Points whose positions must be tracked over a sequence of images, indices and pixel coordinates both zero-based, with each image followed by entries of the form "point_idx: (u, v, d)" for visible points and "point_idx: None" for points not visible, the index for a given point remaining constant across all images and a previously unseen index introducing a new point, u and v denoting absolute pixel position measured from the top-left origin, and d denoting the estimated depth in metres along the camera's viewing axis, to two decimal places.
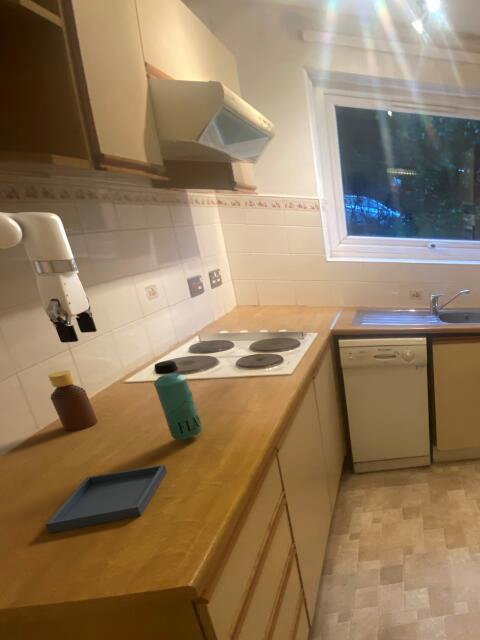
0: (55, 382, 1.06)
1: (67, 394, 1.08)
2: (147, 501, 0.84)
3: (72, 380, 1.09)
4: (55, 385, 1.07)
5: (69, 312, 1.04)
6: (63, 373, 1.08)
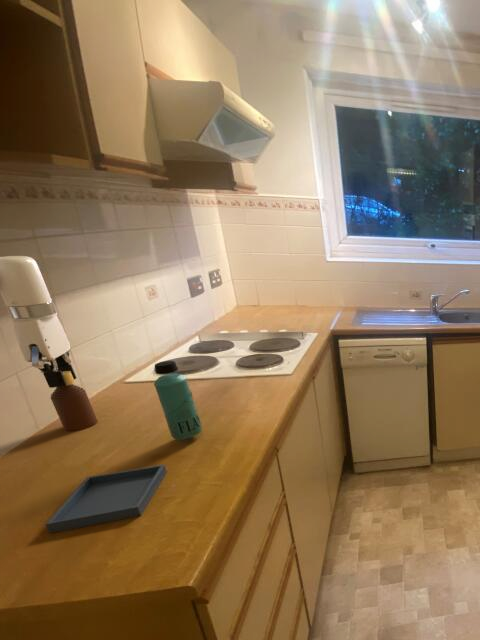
0: None
1: (67, 394, 1.08)
2: (147, 501, 0.84)
3: (72, 380, 1.09)
4: None
5: (48, 356, 1.02)
6: (63, 373, 1.08)
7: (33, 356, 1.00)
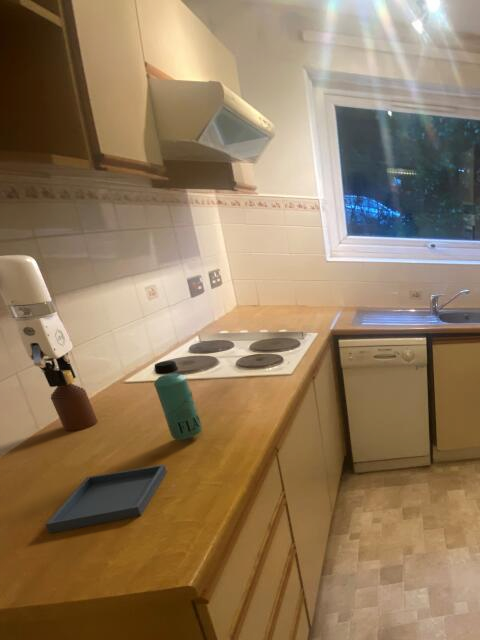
0: None
1: (67, 394, 1.08)
2: (147, 501, 0.84)
3: None
4: None
5: None
6: None
7: None
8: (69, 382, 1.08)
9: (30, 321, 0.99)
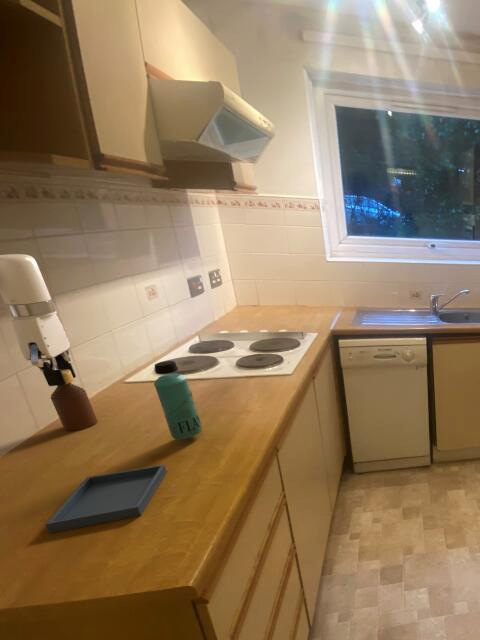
0: None
1: (67, 394, 1.08)
2: (147, 501, 0.84)
3: (72, 378, 1.09)
4: None
5: (48, 355, 1.02)
6: (63, 371, 1.07)
7: (32, 354, 1.00)
8: None
9: None
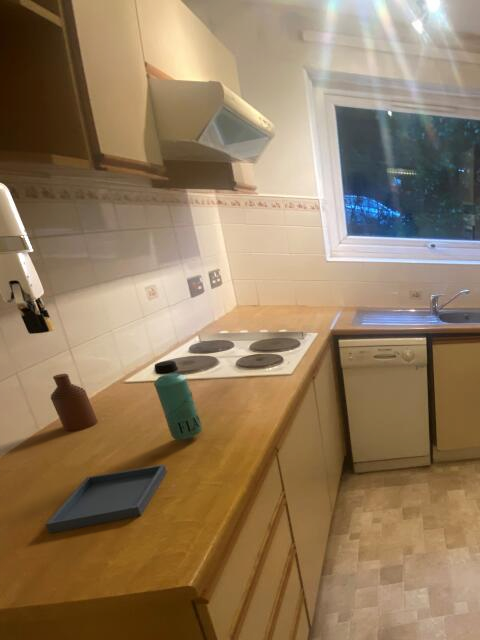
0: None
1: (67, 394, 1.08)
2: (147, 501, 0.84)
3: (53, 326, 0.98)
4: None
5: (32, 295, 0.92)
6: None
7: (16, 294, 0.90)
8: None
9: None
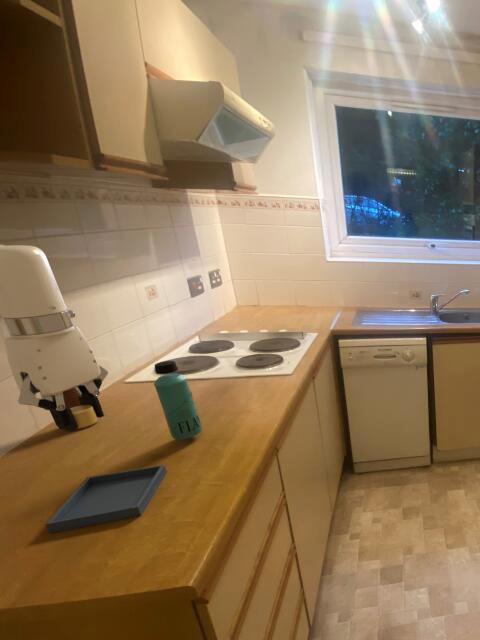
0: None
1: (67, 394, 1.08)
2: (147, 501, 0.84)
3: (90, 420, 0.78)
4: None
5: (43, 391, 0.71)
6: (80, 410, 0.77)
7: (22, 389, 0.70)
8: None
9: None
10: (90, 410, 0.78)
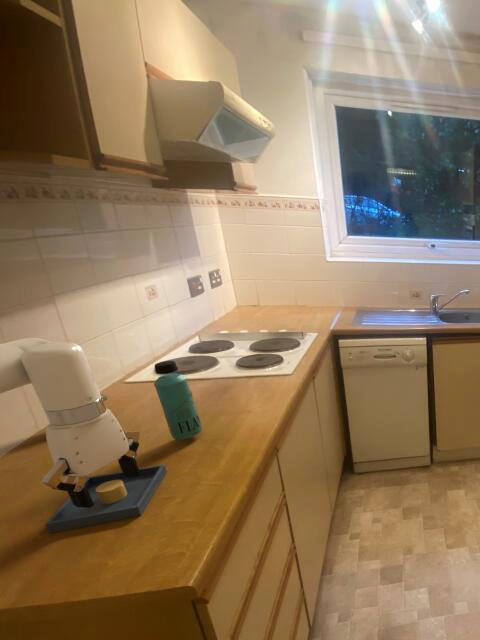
0: (100, 498, 0.83)
1: None
2: (147, 501, 0.84)
3: (121, 495, 0.84)
4: (101, 501, 0.83)
5: (80, 474, 0.77)
6: (112, 486, 0.83)
7: (52, 469, 0.74)
8: None
9: None
10: (121, 486, 0.84)
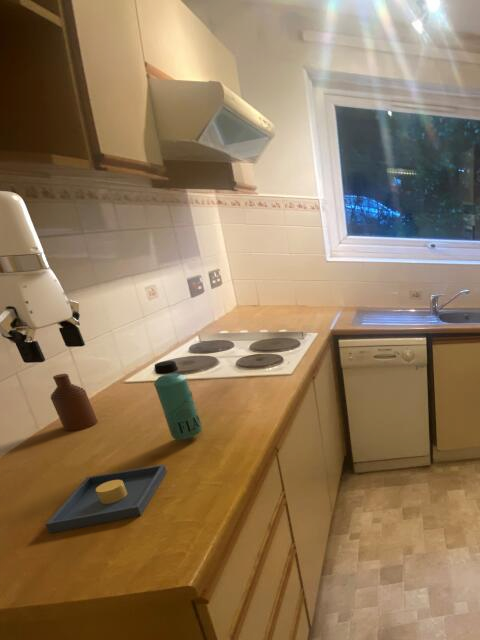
0: (100, 498, 0.83)
1: (67, 394, 1.08)
2: (147, 501, 0.84)
3: (121, 495, 0.84)
4: (101, 501, 0.83)
5: (30, 324, 0.79)
6: (112, 486, 0.83)
7: (1, 315, 0.76)
8: None
9: None
10: (121, 486, 0.84)
